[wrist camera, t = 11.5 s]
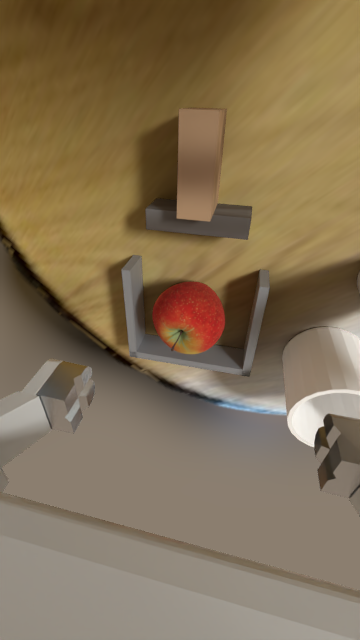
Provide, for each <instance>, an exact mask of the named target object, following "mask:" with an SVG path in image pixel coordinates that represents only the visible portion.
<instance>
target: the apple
mask: <svg viewBox="0 0 360 640" xmlns="http://www.w3.org/2000/svg"><path fill="white" fill-rule="evenodd" d="M152 316H153V323H154V326H155V329H156V331H157V333H158V335H159V336H160V338H161V339H162V341H163V342H164V343H165V344H166V345H167V346H169V347H170V348H171V351H174V350H175V351H177V352H179V353H183V354H199V353H202V352H204V351H206V350H208V349H210V348H211V347H212V346H213V345H214V344H215V343H216V342H217V341H218V339H219V338H220V337H221V335H222V332H223V330H224V326H225V314H224V309H223V306H222V304H221V301H220V299H219V297H218V296H217V294H216V293H215V292H214V291H213V290H212V289H211V288H210V287H208V286H207V285H205V284H203V283H200V282H183V283H179V284H176V285H174V286H171V287H170V288H168V289H166V290H165V291H164V292H162V294H161V295H160V296H159V297H158V298H157V300H156V302H155V304H154V307H153V313H152Z"/></svg>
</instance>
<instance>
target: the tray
mask: <svg viewBox="0 0 360 640" xmlns="http://www.w3.org/2000/svg"><path fill="white" fill-rule="evenodd" d="M121 270H122V280H123V290H124V301H125V311H126V321H127V331H128V342H129V352H130V356H131V357H136V358H142V359H148V360H154V361H160V362H166V363H172V364H178V365H183V366H189V367H195V368H201V369H207V370H213V371H219V372H225V373H231V374H236V375H242V376H248V377H249V376H250V372H251V368H252V363H253V359H254V354H255V350H256V346H257V341H258V337H259V333H260V328H261V324H262V319H263V315H264V311H265V306H266V302H267V298H268V293H269V289H270V284H269V271H268V270H260V271H259V276H258V281H257V286H256V291H255V296H254V301H253V306H252V311H251V316H250V321H249V326H248V331H247V336H246V341H245V346H244V349H239V348H233V347H226V346H220V345H213V346H212V347H211V348H210V349H208V350H206V351H204V352H202V353H199V354H183V353H179V352H177V351H175V350H174V351H171V348H170V347H169V346H167V345H166V344H165V343H164V342H163V341H162V339H161V338H160V336H156V335H150V334H146V333H145V314H144V296H143V277H142V258H141V256H137V255H133V256H132V257H131V259H130V260H129V261H128V262H127V263H126V265H125V266H124V267H123V268H122V269H121Z"/></svg>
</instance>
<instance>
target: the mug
mask: <svg viewBox="0 0 360 640" xmlns="http://www.w3.org/2000/svg"><path fill="white" fill-rule="evenodd" d="M282 363H283V375H284V386H285V398H286V409H287V420H288V427H289V429H290V431H291V432H292V434H293V435H295V437H297V439H298V440H300V441H302V442H303V443H305V444H307V445H309V446H312V447H314V441H315V435H316V433H317V431H318V428H320V427H323V426H324V422H323V419H324V417H325V416H326V415H327V414H328V413H329V414H335V415H340V416H346V417H351V418H357V419H360V339H359V337H357V336H356V335H354V334H353V333H351V332H349V331H346V330H343V329H341V328H334V327H318V328H313V329H309V330H306V331H304V332H302V333H300V334H298V335H296V336H295V337H294V338H293V339H291V340H290V341H289V342H288V344H287V345H286V347H285V348H284V351H283V354H282Z"/></svg>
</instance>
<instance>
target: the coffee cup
mask: <svg viewBox="0 0 360 640" xmlns="http://www.w3.org/2000/svg"><path fill="white" fill-rule="evenodd" d="M357 287H358V291H359V294H360V271H359V274H358V277H357Z"/></svg>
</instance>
